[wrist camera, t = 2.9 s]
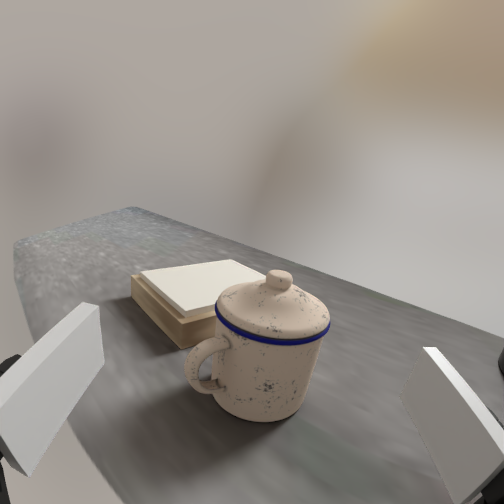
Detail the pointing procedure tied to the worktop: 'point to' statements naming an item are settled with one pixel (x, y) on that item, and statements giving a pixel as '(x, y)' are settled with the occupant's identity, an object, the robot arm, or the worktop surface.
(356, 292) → the worktop surface
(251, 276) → the oak tea stand
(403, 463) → the worktop surface
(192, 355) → the teacup with lid
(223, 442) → the worktop surface
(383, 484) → the worktop surface
